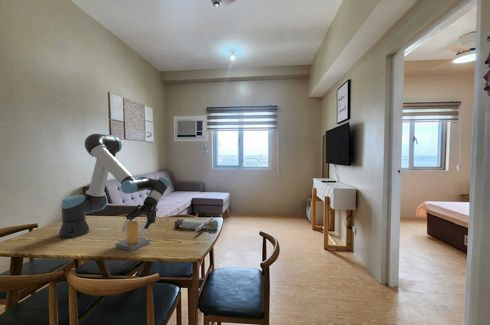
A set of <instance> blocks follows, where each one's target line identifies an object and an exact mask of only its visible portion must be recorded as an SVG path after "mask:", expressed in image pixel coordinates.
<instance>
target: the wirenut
mask: <svg viewBox="0 0 490 325" xmlns="http://www.w3.org/2000/svg"><path fill="white" fill-rule="evenodd" d="M126 236H127V238H126V239H127V243H136V242H138V237H139V223H138V222H137V221H136V220H131V221H130V222H129V223H128V224H127V229H126Z"/></svg>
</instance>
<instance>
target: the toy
mask: <svg viewBox="0 0 490 325" xmlns="http://www.w3.org/2000/svg"><path fill="white" fill-rule="evenodd" d="M173 227H174V229H177V228H178V227H181V229H184V230H185V229H186V230H194V233H197V232H198V231H199V232H200V231H201V229H204V228H206V229H208V230H212V231H217V230H218V229H219V222H218V220H216V219H214V217H213V216H211V217H209V218H208V219H206V220H198V219H191V218H185V219H177V220H175V221H174V226H173Z"/></svg>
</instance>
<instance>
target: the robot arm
mask: <svg viewBox="0 0 490 325" xmlns="http://www.w3.org/2000/svg"><path fill="white" fill-rule="evenodd" d="M120 139H121V138H119V137H118V136H116V135H111V134H103V133H92V134H89V135H88V136H87V137H86V138H85V140H84V148H85V150H86V152H87V153H88V154H89V155H90V156H91V157H93V158H95V164H94V168H93V173H92V176H91V181H90V185H89V188H88V189H87V190H85V194H76V195H70V196H68V197H65V198H63V199H62V200H61V220H62V221H61V225H60V229H59V231H58V237H59V239H61V238H62V239H70V238H77V237H81V236H84V235H86V234H89V232H90V227H89V224H88V223H87V219H86V215H88V214H91V213H94V212H95V213H96V212H99V211H101V210H104V209H105V208H106V207H107V205H108V196H107V194H106V192H105V187H106V185H107V181H108V180H107V179H108V176H109V173H110V174H111V175H112V176H113V177H114V179H115V180H116V181H117V182H118V183H119V184H120V189H121V192H122V193H124V194H127V195H128V194H129V195H130V194H134V193H138V192H142V191H150V192H149V193H148V194H147V196H146V197H145V199H144V200H143V204H142V205H141V204H137V206H136V207H135V208H134V209H132V210H131V211H130V212H129V213H128V214H127V215H126V216H125V218H126V219H125V222H124V223H123V225H122V227H121V228H120V230H121V231H122V232H124V233H125V232H127V224H128V223H129V222H130V221H134V219H136V218H137V217H139V216H140V215H146V221H145V222H144V224H143V225H142V227H141V228H140V230H139V231H138V234H140V235H141V236H144V234H145V232H146V231H147V230H148V229H149V228H150V226H151V225H152V224H155V223H156V219H157V218H156V217H157V212H158V207H157V206H158V203H159V202H160V200H161V199H162V197H163V195H165V192H166V191H167V189H168V188H169V186H170V183H171V182H170V180H169V179H168V178H167V177H164V176H160V177H159V178H158V179H156V178H155V179H154V178H150V177H147V176H140V177H138V178H136V177H134V176H133V175H132V174H131V173H130V172H129V171H128V170H127V169H126V168H125V167H124V165H122V164H121V163H120V161H118V160H117V159H116V155H117V153H119V152H120V151H121V150H122V147H123V145H122V141H121V140H120Z"/></svg>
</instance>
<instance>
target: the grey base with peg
mask: <svg viewBox="0 0 490 325" xmlns="http://www.w3.org/2000/svg"><path fill="white" fill-rule="evenodd" d="M150 243H151V240H150V239H149V238H145V237H139V236H138V242H136V243H127V238H126V239H124V240H122V241H119V242H115V243H114V248H116V249H121V250H124V251H129V252H133V251H136V250H137V249H139V248H142V247H144V246H146V245H148V244H150Z"/></svg>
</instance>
